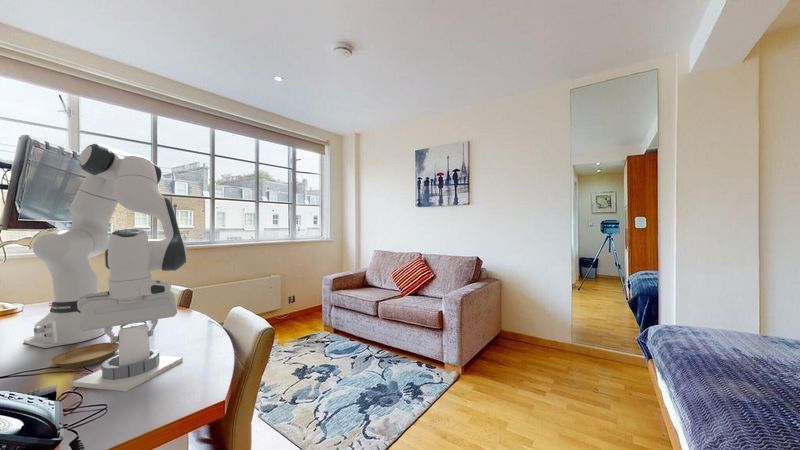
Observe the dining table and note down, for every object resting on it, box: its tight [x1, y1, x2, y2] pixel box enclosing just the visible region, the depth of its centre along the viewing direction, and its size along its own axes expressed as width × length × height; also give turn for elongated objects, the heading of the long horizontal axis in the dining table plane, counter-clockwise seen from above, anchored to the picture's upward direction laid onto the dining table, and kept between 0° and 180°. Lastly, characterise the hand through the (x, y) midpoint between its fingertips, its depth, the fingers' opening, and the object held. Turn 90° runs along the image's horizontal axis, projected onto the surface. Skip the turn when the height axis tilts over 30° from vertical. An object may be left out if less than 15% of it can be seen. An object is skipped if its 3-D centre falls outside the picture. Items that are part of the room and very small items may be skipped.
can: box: [117, 321, 151, 366], centre depth 85 cm, size 6×6×12 cm
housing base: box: [72, 348, 184, 392], centre depth 84 cm, size 16×16×4 cm
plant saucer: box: [50, 341, 119, 370], centre depth 93 cm, size 15×15×3 cm
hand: (132, 338), depth 85 cm, fingers open, 6 cm apart
